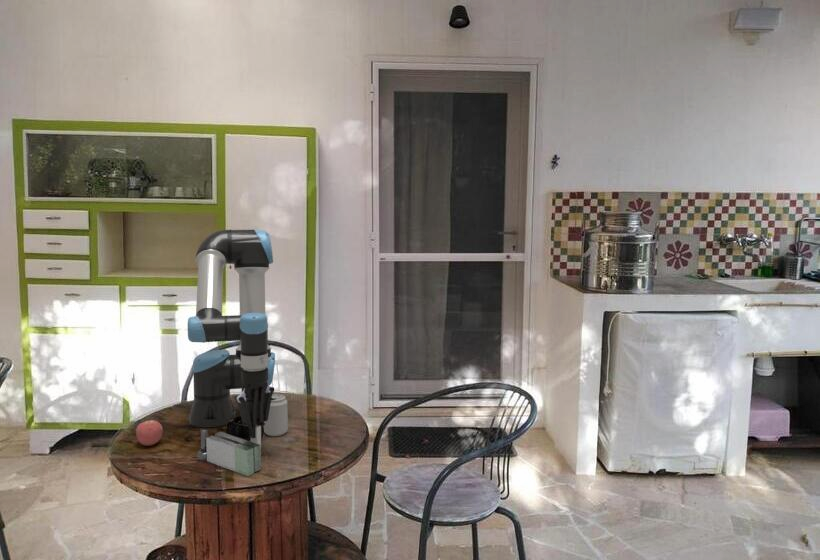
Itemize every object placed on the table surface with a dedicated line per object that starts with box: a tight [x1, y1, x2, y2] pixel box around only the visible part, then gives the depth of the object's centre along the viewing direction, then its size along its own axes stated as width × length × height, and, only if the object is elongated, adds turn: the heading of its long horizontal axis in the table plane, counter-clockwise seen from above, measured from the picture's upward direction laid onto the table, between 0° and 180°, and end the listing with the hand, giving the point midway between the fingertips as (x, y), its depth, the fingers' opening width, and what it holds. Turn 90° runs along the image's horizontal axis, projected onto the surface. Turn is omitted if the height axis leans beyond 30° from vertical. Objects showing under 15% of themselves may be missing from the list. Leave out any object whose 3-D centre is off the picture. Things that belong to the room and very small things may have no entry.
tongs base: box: [196, 428, 255, 477], centre depth 172 cm, size 21×4×8 cm, turn 56°
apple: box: [135, 418, 164, 447], centre depth 187 cm, size 7×7×8 cm
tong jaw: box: [214, 431, 262, 473], centre depth 173 cm, size 17×2×7 cm, turn 55°
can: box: [263, 394, 289, 437], centre depth 197 cm, size 8×8×12 cm
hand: (255, 447), depth 178 cm, fingers closed
